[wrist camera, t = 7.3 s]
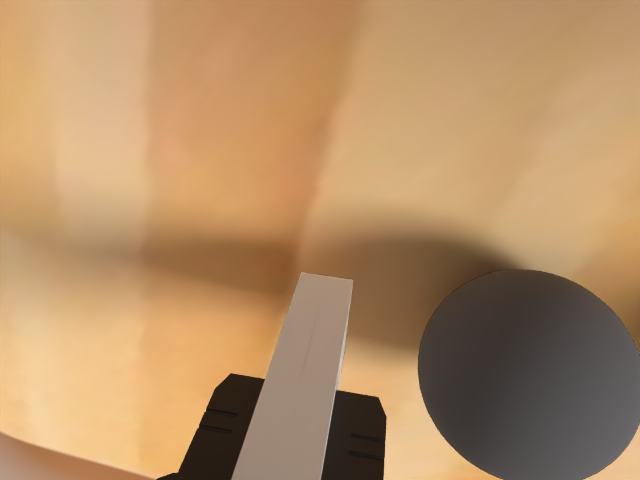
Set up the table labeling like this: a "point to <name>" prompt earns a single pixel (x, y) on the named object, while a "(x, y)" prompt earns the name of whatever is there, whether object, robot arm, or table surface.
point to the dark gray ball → (530, 377)
